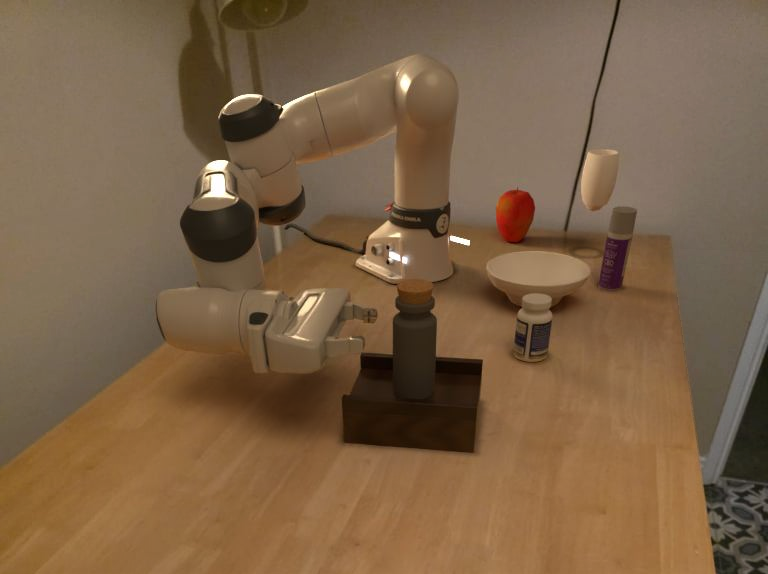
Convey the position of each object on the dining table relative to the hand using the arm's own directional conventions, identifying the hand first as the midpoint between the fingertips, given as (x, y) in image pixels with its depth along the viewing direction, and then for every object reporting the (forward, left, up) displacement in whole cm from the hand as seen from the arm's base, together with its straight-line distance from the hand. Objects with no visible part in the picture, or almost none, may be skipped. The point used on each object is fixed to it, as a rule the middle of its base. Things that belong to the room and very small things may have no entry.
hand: (370, 329), depth 89 cm
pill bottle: (+5, +32, -14) cm, 36 cm away
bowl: (-8, +52, -14) cm, 55 cm away
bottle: (+5, +3, -9) cm, 11 cm away
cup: (-16, +85, -14) cm, 88 cm away
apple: (-34, +81, -14) cm, 89 cm away
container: (-1, +69, -14) cm, 71 cm away
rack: (+5, +3, -14) cm, 15 cm away
